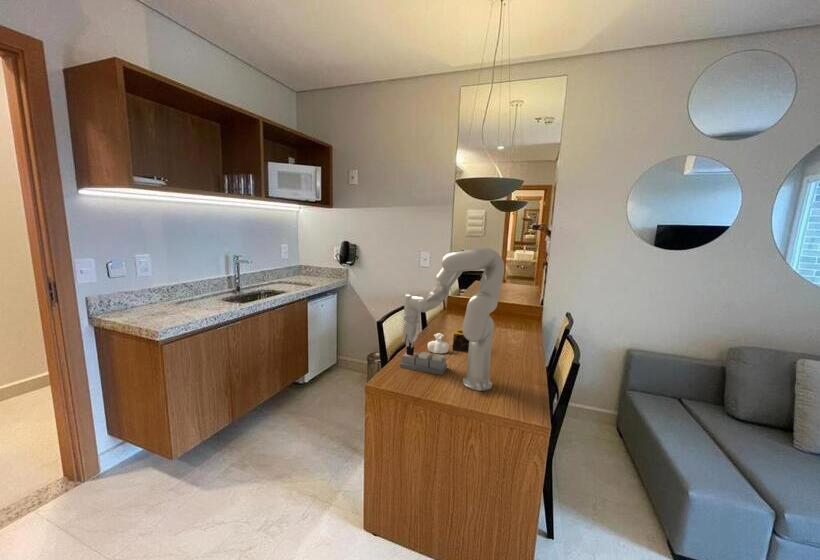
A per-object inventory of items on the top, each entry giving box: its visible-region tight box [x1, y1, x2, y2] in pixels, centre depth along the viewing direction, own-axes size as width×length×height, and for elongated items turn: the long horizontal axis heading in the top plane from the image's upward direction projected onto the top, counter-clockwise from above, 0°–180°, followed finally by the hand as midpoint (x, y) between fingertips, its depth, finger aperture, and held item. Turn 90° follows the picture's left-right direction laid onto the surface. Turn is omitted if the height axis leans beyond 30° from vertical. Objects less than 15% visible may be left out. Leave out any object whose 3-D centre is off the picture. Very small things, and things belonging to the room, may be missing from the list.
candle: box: [451, 328, 469, 353], centre depth 190 cm, size 10×10×10 cm
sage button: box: [432, 353, 445, 362], centre depth 159 cm, size 4×4×3 cm
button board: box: [399, 351, 448, 376], centre depth 162 cm, size 21×9×6 cm, turn 70°
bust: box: [427, 332, 450, 355], centre depth 184 cm, size 12×8×11 cm
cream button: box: [418, 351, 431, 360], centre depth 162 cm, size 4×4×3 cm
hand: (410, 354), depth 164 cm, fingers closed
